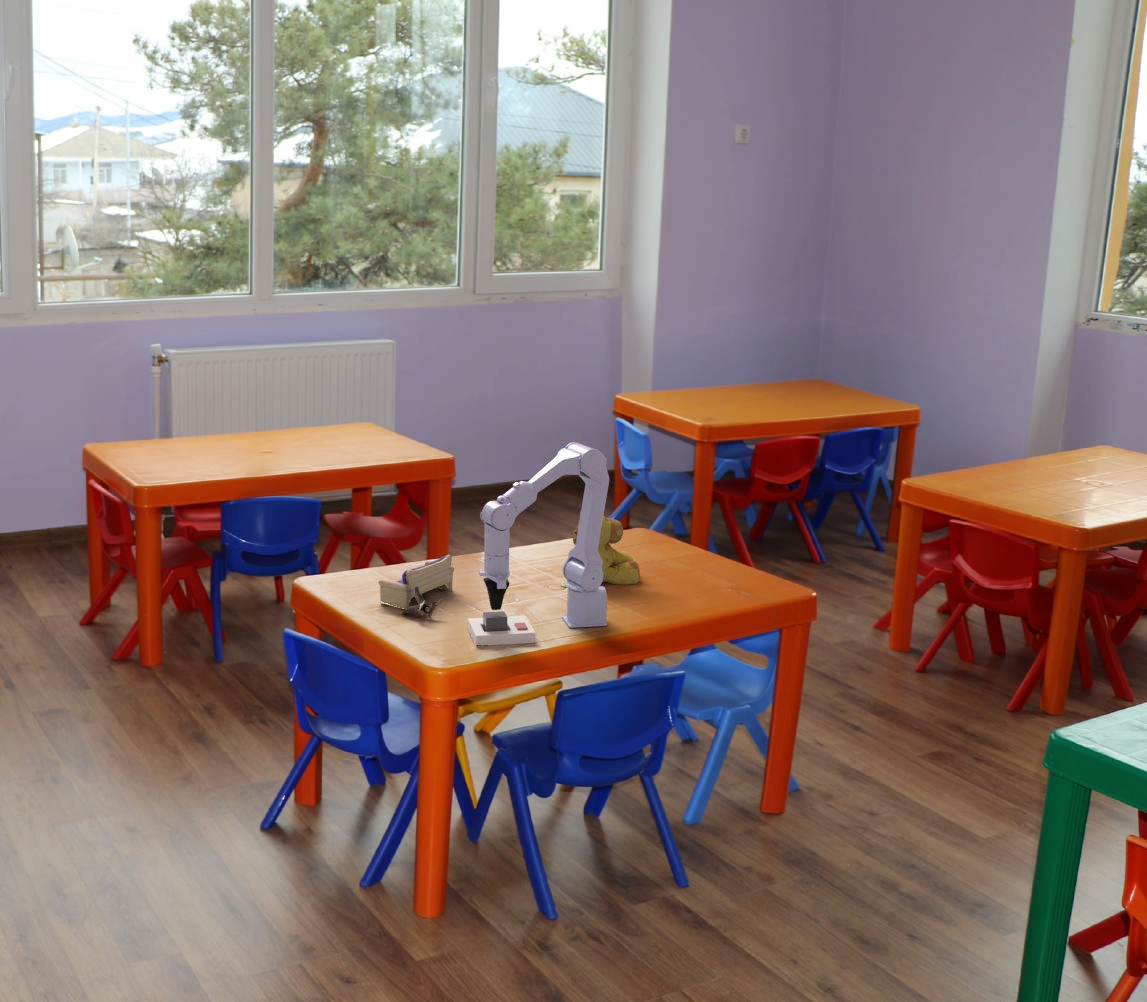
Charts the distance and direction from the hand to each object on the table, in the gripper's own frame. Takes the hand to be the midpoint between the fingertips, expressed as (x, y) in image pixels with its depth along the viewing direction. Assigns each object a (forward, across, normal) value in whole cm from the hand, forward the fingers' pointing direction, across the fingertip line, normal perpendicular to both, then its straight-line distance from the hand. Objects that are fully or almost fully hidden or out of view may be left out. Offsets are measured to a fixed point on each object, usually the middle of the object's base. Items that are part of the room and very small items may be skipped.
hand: (495, 609), depth 298 cm
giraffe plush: (+7, -40, +36) cm, 54 cm away
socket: (+7, -1, +2) cm, 7 cm away
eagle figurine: (+7, -18, -16) cm, 25 cm away
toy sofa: (+8, -32, -14) cm, 36 cm away
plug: (+6, 0, 0) cm, 6 cm away
